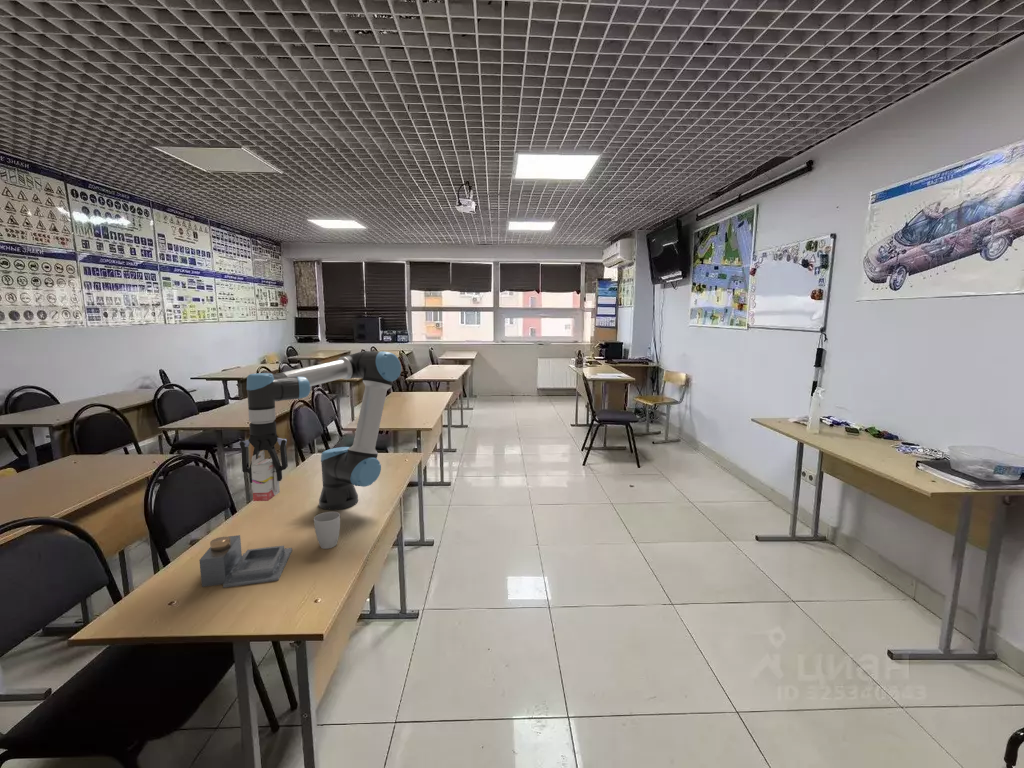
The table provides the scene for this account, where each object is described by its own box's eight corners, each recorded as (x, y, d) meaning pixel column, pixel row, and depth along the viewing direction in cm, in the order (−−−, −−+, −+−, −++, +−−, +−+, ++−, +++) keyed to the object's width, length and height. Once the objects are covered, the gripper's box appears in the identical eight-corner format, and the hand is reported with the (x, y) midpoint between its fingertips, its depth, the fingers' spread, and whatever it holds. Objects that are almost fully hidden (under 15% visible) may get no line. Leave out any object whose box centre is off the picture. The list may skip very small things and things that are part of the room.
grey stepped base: (292, 550, 146) (290, 521, 144) (278, 580, 128) (275, 547, 127) (222, 558, 141) (220, 528, 139) (198, 590, 123) (195, 556, 122)
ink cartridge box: (268, 501, 142) (266, 456, 140) (252, 501, 142) (249, 456, 140) (280, 491, 151) (278, 449, 149) (265, 492, 150) (263, 449, 149)
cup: (346, 541, 152) (345, 513, 151) (329, 552, 144) (328, 523, 143) (327, 537, 155) (325, 510, 153) (309, 548, 147) (308, 519, 146)
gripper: (296, 418, 149) (300, 485, 152) (234, 420, 145) (239, 489, 147) (291, 422, 142) (294, 493, 145) (225, 425, 138) (230, 497, 140)
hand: (266, 491), depth 146 cm, fingers closed on ink cartridge box, 5 cm apart
